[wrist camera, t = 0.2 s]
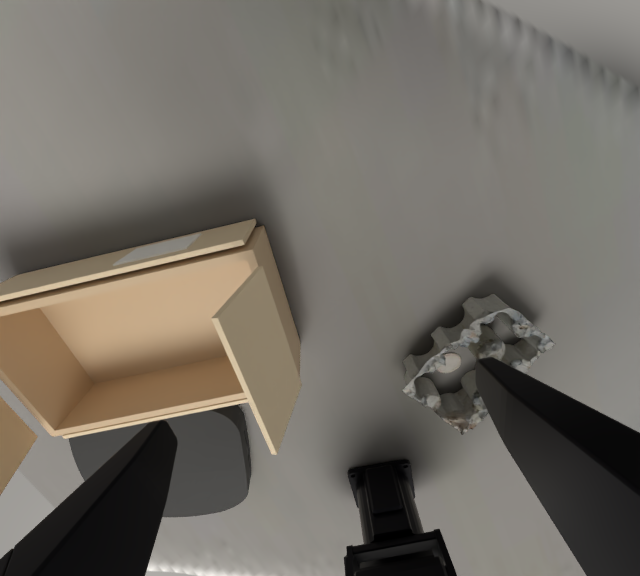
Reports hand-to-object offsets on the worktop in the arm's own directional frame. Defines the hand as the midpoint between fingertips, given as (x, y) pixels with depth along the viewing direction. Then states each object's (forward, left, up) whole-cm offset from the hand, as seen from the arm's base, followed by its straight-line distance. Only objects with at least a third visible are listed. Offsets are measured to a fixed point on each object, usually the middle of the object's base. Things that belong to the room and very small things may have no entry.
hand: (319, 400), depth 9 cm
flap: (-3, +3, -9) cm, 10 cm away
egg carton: (-12, -10, -15) cm, 22 cm away
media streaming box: (-17, +18, -15) cm, 29 cm away
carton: (-3, +12, -14) cm, 19 cm away
